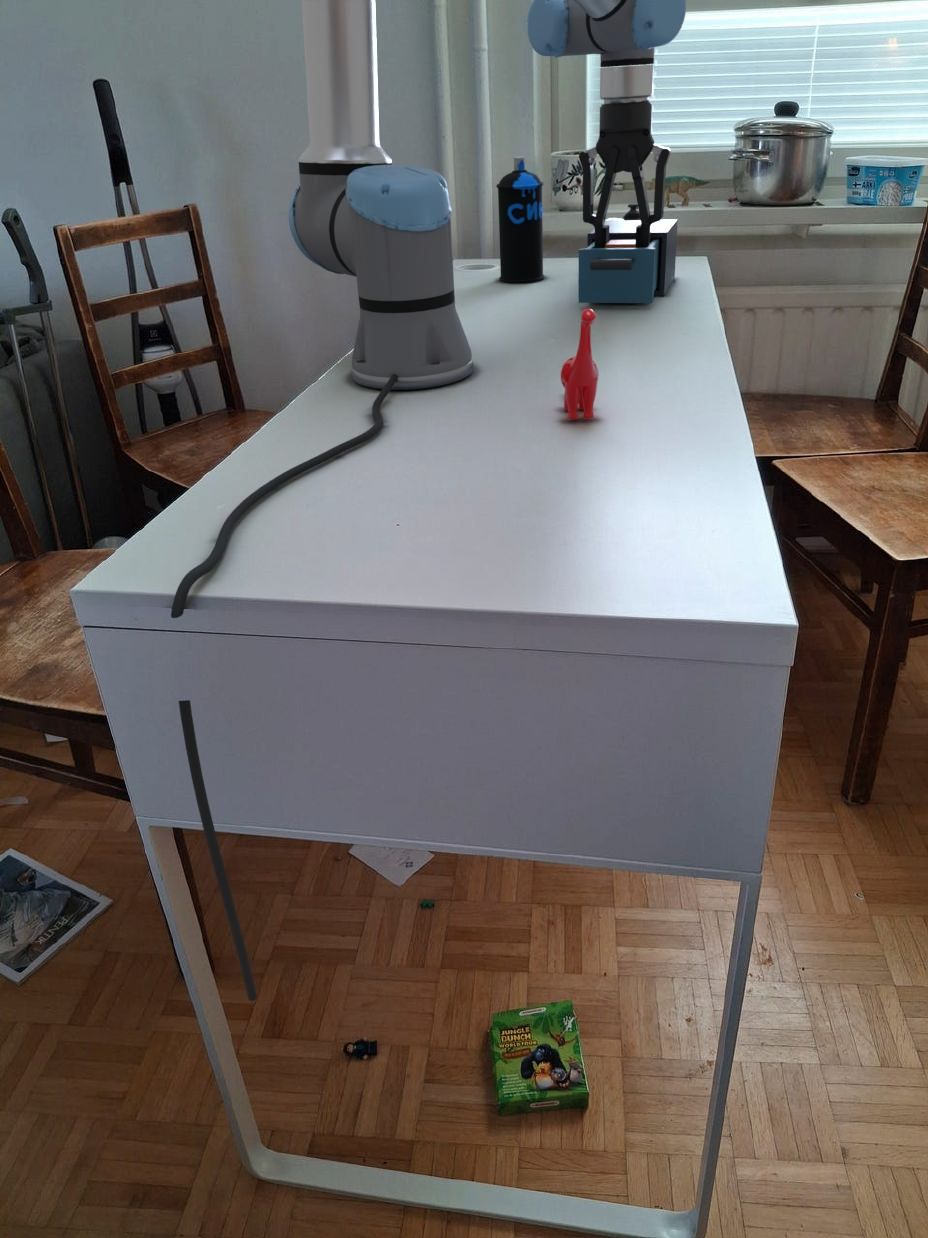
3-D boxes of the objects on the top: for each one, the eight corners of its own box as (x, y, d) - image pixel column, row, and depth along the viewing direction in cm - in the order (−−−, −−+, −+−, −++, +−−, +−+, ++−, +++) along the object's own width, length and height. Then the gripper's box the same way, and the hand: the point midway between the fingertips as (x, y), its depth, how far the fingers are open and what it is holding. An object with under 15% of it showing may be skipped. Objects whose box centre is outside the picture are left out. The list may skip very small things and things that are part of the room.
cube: (633, 275, 144) (634, 243, 142) (604, 275, 145) (605, 244, 143) (637, 269, 147) (638, 239, 145) (609, 269, 149) (610, 239, 147)
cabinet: (664, 295, 150) (667, 231, 145) (586, 295, 154) (587, 233, 149) (674, 278, 162) (677, 219, 157) (602, 278, 166) (603, 220, 161)
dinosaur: (587, 394, 106) (589, 280, 100) (608, 438, 93) (610, 310, 87) (553, 396, 106) (552, 283, 100) (568, 440, 93) (568, 312, 87)
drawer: (647, 310, 138) (650, 254, 134) (571, 309, 141) (571, 254, 137) (663, 285, 153) (665, 234, 149) (594, 285, 156) (595, 235, 152)
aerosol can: (491, 278, 172) (487, 157, 162) (531, 273, 174) (529, 154, 165) (512, 285, 165) (509, 159, 155) (552, 279, 168) (552, 155, 158)
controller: (618, 262, 179) (620, 206, 174) (626, 252, 189) (628, 198, 184) (641, 262, 178) (643, 205, 173) (647, 251, 188) (650, 197, 183)
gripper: (691, 96, 135) (681, 266, 147) (571, 103, 140) (570, 266, 152) (685, 98, 129) (675, 275, 141) (560, 104, 134) (561, 275, 146)
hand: (621, 270), depth 146 cm, fingers open, 5 cm apart
